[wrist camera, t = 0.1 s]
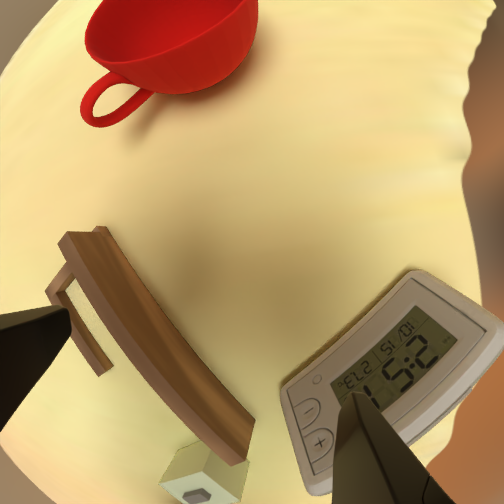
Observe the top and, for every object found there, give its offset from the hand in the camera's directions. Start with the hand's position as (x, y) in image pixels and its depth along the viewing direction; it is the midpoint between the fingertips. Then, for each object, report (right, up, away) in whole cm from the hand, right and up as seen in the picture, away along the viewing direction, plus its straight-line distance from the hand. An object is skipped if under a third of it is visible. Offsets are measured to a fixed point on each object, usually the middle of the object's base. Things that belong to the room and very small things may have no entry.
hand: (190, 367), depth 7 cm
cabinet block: (-2, -18, +17) cm, 25 cm away
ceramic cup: (-4, +20, +16) cm, 25 cm away
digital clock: (+11, -5, +15) cm, 19 cm away
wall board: (-9, -7, +17) cm, 20 cm away
